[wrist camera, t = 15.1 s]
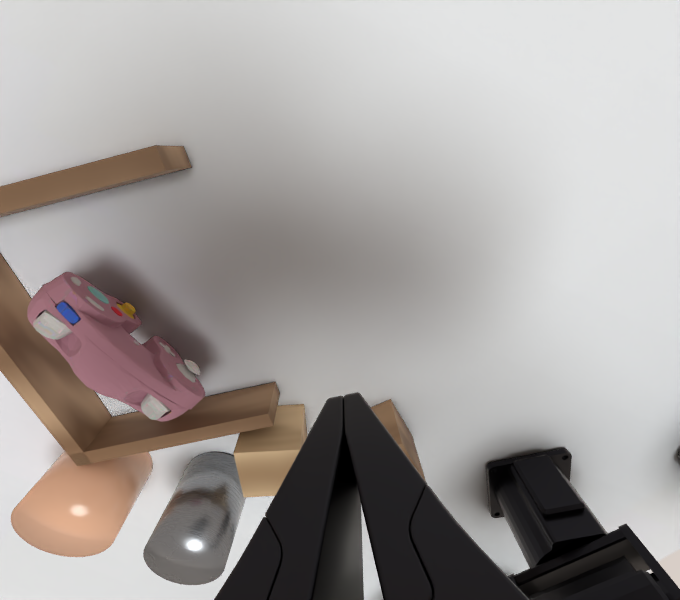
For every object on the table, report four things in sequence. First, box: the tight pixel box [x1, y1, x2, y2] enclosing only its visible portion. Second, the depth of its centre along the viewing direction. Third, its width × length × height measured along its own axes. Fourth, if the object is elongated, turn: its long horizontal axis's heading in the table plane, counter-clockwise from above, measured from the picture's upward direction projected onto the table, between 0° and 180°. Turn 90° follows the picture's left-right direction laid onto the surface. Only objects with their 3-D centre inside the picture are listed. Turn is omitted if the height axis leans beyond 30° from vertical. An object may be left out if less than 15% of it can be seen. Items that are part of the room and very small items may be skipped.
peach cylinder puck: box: [11, 451, 153, 557], centre depth 23 cm, size 6×6×5 cm
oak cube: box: [234, 404, 307, 497], centre depth 23 cm, size 4×4×4 cm
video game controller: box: [27, 272, 205, 422], centre depth 18 cm, size 10×5×7 cm, turn 36°
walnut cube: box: [371, 399, 426, 482], centre depth 23 cm, size 4×4×4 cm
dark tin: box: [143, 452, 246, 585], centre depth 23 cm, size 5×5×6 cm
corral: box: [0, 145, 280, 466], centre depth 19 cm, size 16×13×3 cm
